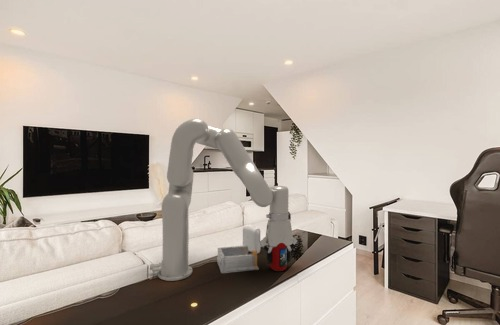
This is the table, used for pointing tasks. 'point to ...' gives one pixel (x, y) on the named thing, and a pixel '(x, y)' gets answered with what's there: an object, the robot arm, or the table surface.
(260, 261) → the table surface
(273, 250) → the beverage can
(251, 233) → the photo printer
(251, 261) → the grey open box
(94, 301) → the table surface
